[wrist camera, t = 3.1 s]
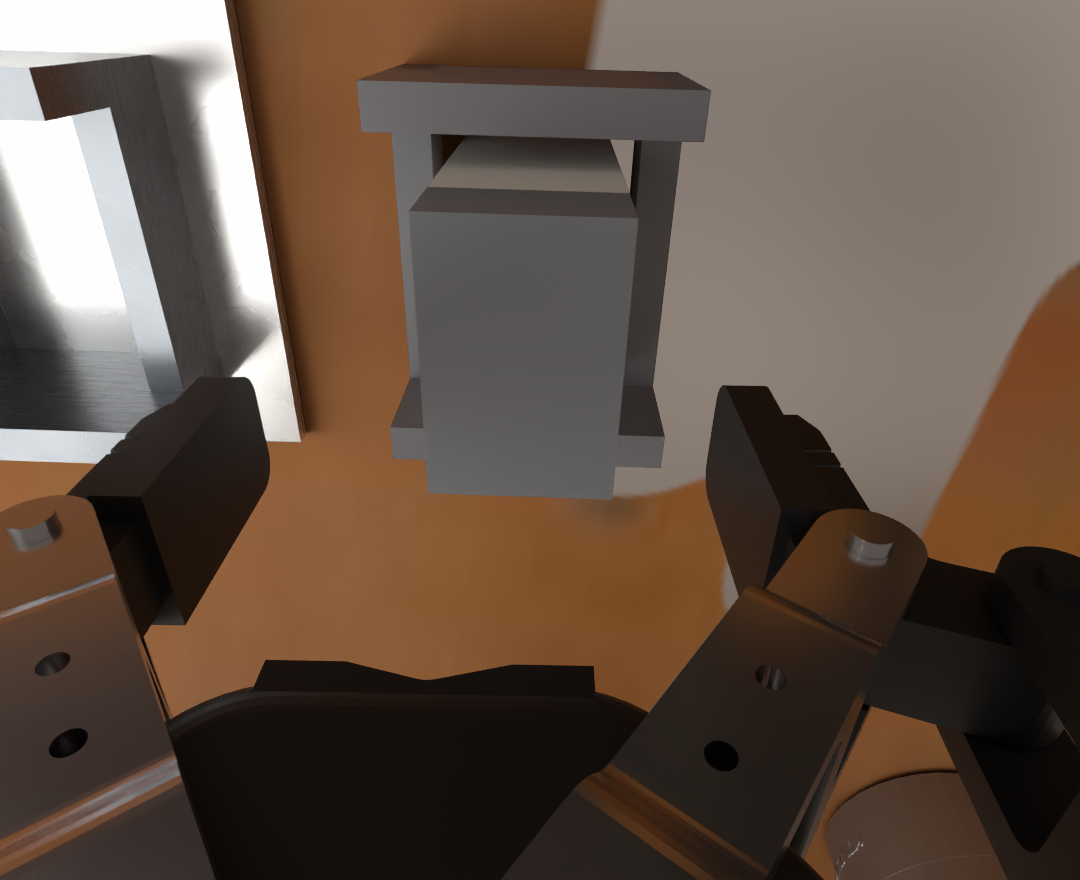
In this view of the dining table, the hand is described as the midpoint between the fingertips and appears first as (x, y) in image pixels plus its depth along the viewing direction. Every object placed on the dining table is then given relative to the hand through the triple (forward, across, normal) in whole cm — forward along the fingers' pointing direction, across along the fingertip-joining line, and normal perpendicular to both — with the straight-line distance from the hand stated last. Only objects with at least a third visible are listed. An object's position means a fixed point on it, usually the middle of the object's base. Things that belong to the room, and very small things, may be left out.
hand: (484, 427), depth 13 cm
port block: (+11, +13, 0) cm, 17 cm away
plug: (+11, -1, 0) cm, 11 cm away
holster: (+11, -1, 0) cm, 11 cm away
